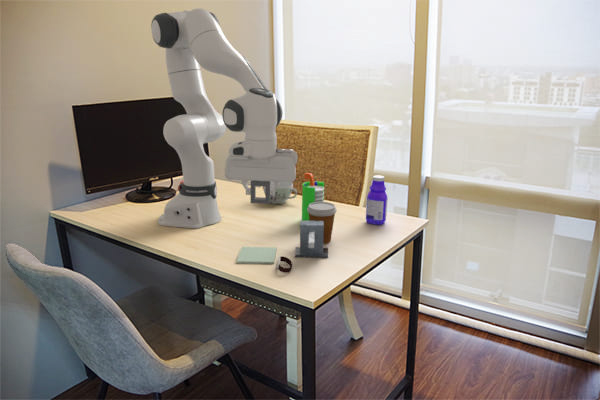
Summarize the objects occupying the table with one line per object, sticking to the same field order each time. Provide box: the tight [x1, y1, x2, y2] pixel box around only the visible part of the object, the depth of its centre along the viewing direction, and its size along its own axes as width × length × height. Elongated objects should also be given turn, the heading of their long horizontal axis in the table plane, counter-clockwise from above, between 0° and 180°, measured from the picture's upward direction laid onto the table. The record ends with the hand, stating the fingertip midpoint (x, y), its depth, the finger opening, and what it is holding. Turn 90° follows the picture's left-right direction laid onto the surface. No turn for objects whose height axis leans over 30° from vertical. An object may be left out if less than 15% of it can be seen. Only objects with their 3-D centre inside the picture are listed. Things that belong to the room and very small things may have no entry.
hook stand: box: [294, 220, 329, 259], centre depth 142 cm, size 10×15×10 cm, turn 178°
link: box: [250, 180, 271, 205], centre depth 138 cm, size 6×2×6 cm, turn 88°
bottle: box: [365, 174, 388, 226], centre depth 172 cm, size 7×6×17 cm
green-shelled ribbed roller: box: [301, 172, 325, 221], centre depth 172 cm, size 9×8×18 cm
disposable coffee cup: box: [307, 201, 337, 245], centre depth 156 cm, size 10×10×12 cm
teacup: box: [262, 181, 298, 205], centre depth 196 cm, size 15×12×8 cm
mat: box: [235, 246, 278, 265], centre depth 146 cm, size 11×11×1 cm
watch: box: [275, 255, 293, 274], centre depth 137 cm, size 8×5×4 cm, turn 4°
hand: (260, 194), depth 139 cm, fingers closed on link, 5 cm apart
